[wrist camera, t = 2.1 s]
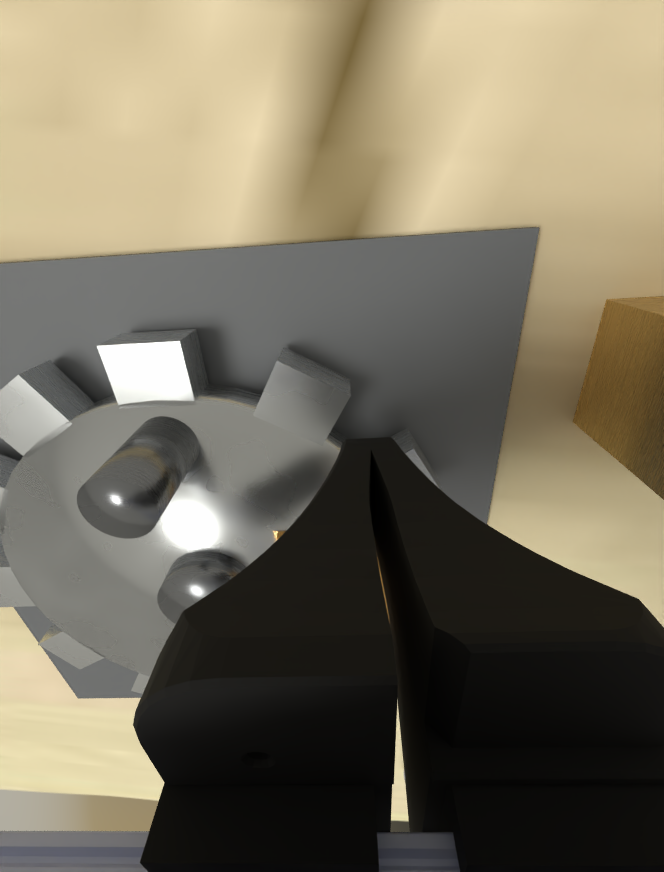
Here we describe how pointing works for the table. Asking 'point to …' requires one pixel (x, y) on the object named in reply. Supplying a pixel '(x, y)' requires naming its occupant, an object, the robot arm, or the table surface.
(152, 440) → the sprocket
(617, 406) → the brushed gold block
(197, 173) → the table surface
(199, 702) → the robot arm
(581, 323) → the table surface
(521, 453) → the table surface
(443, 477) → the plate
